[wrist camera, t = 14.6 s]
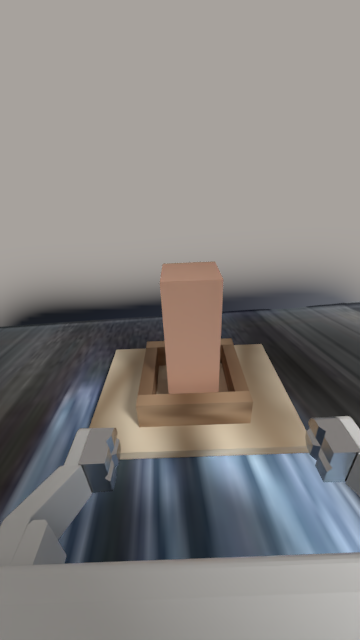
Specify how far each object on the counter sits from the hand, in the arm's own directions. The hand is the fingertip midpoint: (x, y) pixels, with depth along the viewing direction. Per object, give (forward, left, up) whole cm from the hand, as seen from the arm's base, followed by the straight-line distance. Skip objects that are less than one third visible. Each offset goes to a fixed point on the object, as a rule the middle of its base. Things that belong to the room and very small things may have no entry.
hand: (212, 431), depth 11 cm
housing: (0, -12, -10) cm, 16 cm away
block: (0, -12, -9) cm, 15 cm away
